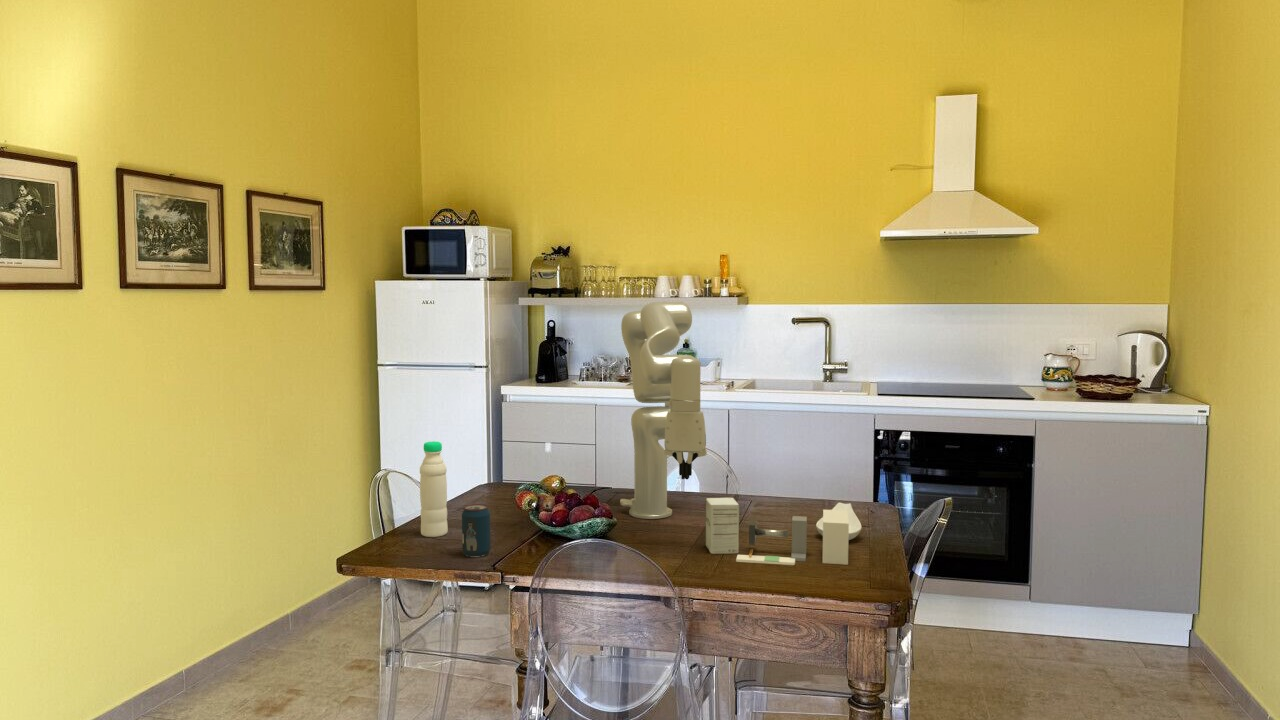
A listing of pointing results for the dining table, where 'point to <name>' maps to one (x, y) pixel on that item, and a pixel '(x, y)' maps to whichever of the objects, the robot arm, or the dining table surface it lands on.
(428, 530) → the cream plastic bottle
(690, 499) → the dining table surface
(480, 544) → the soda can
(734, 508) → the supplement box
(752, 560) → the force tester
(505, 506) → the dining table surface
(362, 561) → the dining table surface
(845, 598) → the dining table surface
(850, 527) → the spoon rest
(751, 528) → the plunger
